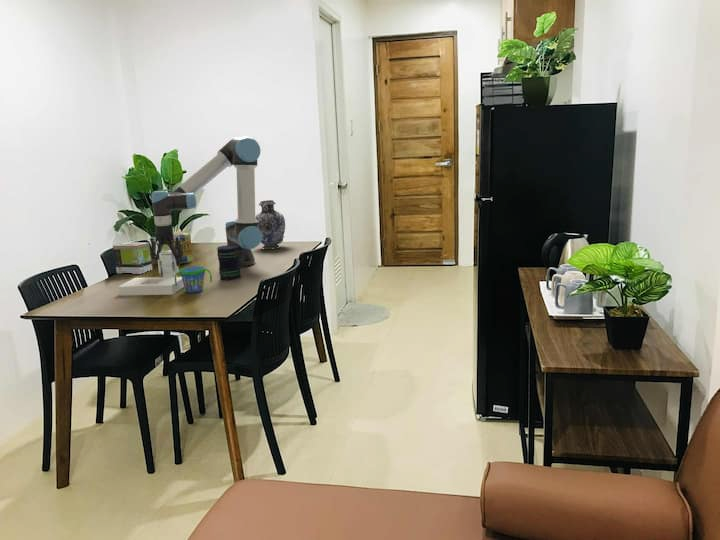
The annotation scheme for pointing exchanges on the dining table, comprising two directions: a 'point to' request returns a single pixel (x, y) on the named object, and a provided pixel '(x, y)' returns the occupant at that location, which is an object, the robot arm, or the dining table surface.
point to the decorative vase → (270, 225)
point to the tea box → (132, 258)
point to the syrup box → (167, 263)
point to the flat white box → (151, 286)
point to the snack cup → (193, 278)
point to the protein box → (185, 245)
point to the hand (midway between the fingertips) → (169, 272)
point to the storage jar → (229, 262)
